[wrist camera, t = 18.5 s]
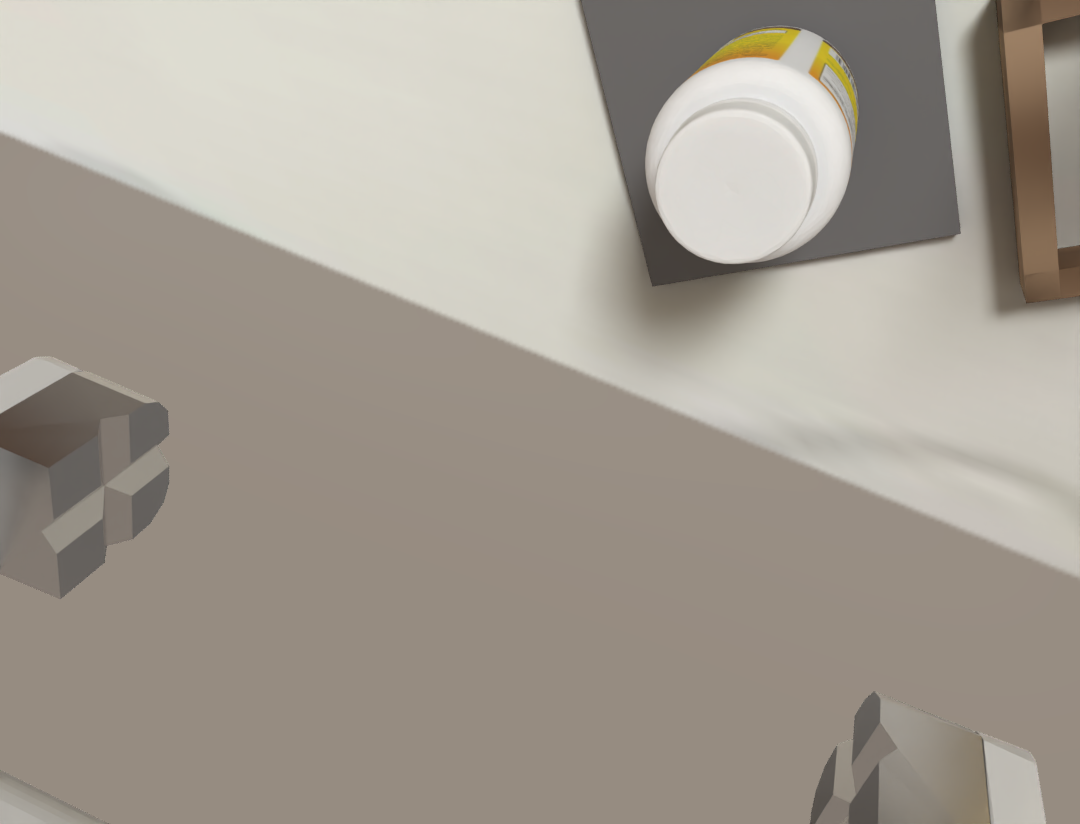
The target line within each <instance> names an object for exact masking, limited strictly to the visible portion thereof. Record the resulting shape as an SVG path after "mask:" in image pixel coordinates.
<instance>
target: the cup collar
mask: <svg viewBox="0 0 1080 824" xmlns="http://www.w3.org/2000/svg"><path fill="white" fill-rule="evenodd" d="M996 11H997V22H998V34H999V45H1000V57H1001V69H1002V80H1003V92H1004V103H1005V115H1006V126H1007V138H1008V150H1009V161H1010V173H1011V184H1012V196H1013V207H1014V219H1015V231H1016V242H1017V254H1018V265H1019V277H1020V284H1021V287H1022V291H1023V294H1024V297H1025V300H1026V303H1033V302H1040V301H1047V300H1054V299H1061V298H1069V297H1076V296H1080V245H1079V246H1073V247H1066V248H1060V249H1057V236H1056V221H1055V207H1054V192H1053V178H1052V163H1051V149H1050V134H1049V120H1048V105H1047V91H1046V76H1045V62H1044V47H1043V33H1042V24H1044V23H1048V22H1053V21H1057V20H1061V19H1065V18H1069V17H1073V16H1077V15H1080V0H996Z"/></svg>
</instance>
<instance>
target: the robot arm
mask: <svg viewBox="0 0 1080 824" xmlns="http://www.w3.org/2000/svg"><path fill="white" fill-rule="evenodd" d="M168 435H169V422H168V410H167V409H166V408H164V407H163V406H162V405H161V404H160V403H159V402H157V401H155V400H152V399H150V398H148V397H146V396H143V395H141V394H139V393H136V392H134V391H132V390H129V389H127V388H125V387H123V386H120V385H118V384H115V383H113V382H111V381H109V380H106V379H104V378H102V377H99V376H97V375H95V374H93V373H90V372H88V371H83V370H81V369H79V368H76V367H74V366H72V365H70V364H67V363H65V362H63V361H60V360H58V359H56V358H53V357H34V358H33V359H31V360H29V361H27V362H25V363H23V364H21V365H20V366H18V367H16V368H14V369H12V370H10V371H8V372H6V373H4V374H2V375H0V574H2V575H4V576H6V577H9V578H12V579H14V580H16V581H18V582H21V583H23V584H26V585H28V586H30V587H33V588H35V589H38V590H40V591H42V592H45V593H47V594H50V595H52V596H54V597H57V598H59V599H61V598H62V597H64V596H65V595H66V594H67V593H68V592H70V591H71V590H72V589H73V588H75V587H76V586H77V585H78V584H79V583H81V582H82V581H83V580H84V579H85V578H86V577H88V576H89V575H90V574H91V573H92V572H94V571H95V570H96V569H97V568H99V567H100V566H101V565H102V564H103V563H105V556H106V548H107V546H108V545H111V544H115V543H119V542H123V541H127V540H131V539H133V538H134V537H135V536H137V535H138V534H139V533H140V532H141V531H142V530H143V529H145V528H146V527H147V526H148V525H149V524H150V523H151V522H152V520H153V518H154V517H155V515H156V514H157V512H158V510H159V509H160V507H161V506H162V504H163V503H164V499H165V496H166V492H167V489H168V485H169V465H168V463H167V461H166V459H165V458H164V456H163V454H162V452H161V450H160V449H159V447H158V445H159V444H160V443H161V442H162V441H163V440H164V439H165V438H166V437H167V436H168ZM0 824H109V823H107V822H105V821H103V820H100V819H98V818H96V817H94V816H92V815H90V814H88V813H86V812H84V811H82V810H80V809H78V808H76V807H74V806H72V805H70V804H68V803H66V802H64V801H62V800H60V799H58V798H56V797H54V796H52V795H50V794H48V793H46V792H44V791H42V790H40V789H38V788H36V787H34V786H32V785H30V784H28V783H26V782H24V781H22V780H20V779H18V778H16V777H14V776H12V775H10V774H8V773H6V772H4V771H1V770H0ZM810 824H1046V819H1045V812H1044V806H1043V800H1042V794H1041V788H1040V783H1039V776H1038V770H1037V764H1036V760H1035V759H1034V757H1033V756H1032V754H1031V753H1030V752H1029V751H1028V750H1025V749H1022V748H1020V747H1017V746H1015V745H1012V744H1010V743H1007V742H1004V741H1001V740H999V739H996V738H994V737H991V736H989V735H986V734H983V733H981V732H978V731H975V732H973V731H972V730H970V729H968V728H965V727H963V726H961V725H958V724H956V723H953V722H950V721H948V720H945V719H943V718H940V717H938V716H935V715H933V714H930V713H928V712H925V711H923V710H920V709H917V708H915V707H913V706H910V705H907V704H905V703H903V702H900V701H897V700H895V699H893V698H890V697H887V696H885V695H882V694H880V693H877V692H875V691H874V692H873V693H872V694H871V695H869V696H868V697H867V698H866V699H865V701H864V702H863V704H862V705H861V707H860V708H859V710H858V711H857V713H856V715H855V720H854V735H853V739H852V740H848V741H845V742H843V743H840V744H837V746H836V748H835V749H834V751H833V753H832V755H831V757H830V758H829V760H828V762H827V764H826V765H825V768H824V771H823V773H822V776H821V779H820V781H819V784H818V787H817V789H816V793H815V798H814V803H813V807H812V812H811V821H810Z"/></svg>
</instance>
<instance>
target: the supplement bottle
mask: <svg viewBox="0 0 1080 824" xmlns="http://www.w3.org/2000/svg"><path fill="white" fill-rule="evenodd" d="M858 120H859V97H858V90H857V85H856V81H855V78H854V76H853V73H852V71H851V69H850V67H849V65H848V64H847V62H846V61H845V59H844V58H843V56H842V55H841V54H840V53H839V51H838V50H837V49H836V48H835V47H834V46H832V45H831V44H830V43H829V42H828V41H826V40H825V39H823V38H822V37H820V36H818V35H817V34H815V33H812V32H810V31H807V30H804V29H801V28H797V27H790V26H769V27H763V28H759V29H755V30H751V31H749V32H746V33H744V34H742V35H740V36H738V37H736V38H734V39H733V40H731V41H730V42H728V43H727V44H726V45H724V46H723V47H722V48H720V49H719V50H718V51H717V52H716V53H715V54H714V55H713V56H712V57H711V58H710V59H709V60H707V61H706V62H705V63H704V64H703V65H702V66H701V67H700V68H699V69H698V70H697V71H696V72H695V73H694V74H693V75H692V76H690V77H689V78H688V79H687V80H686V81H685V82H684V83H683V84H682V85H681V86H680V87H678V88H677V89H676V90H675V91H674V93H673V94H672V95H671V96H670V98H669V99H668V100H667V101H666V103H665V104H664V106H663V107H662V109H661V110H660V112H659V114H658V116H657V117H656V119H655V122H654V124H653V126H652V129H651V132H650V135H649V139H648V142H647V148H646V157H645V171H646V180H647V186H648V190H649V194H650V196H651V199H652V202H653V204H654V206H655V209H656V210H657V212H658V214H659V216H660V217H661V219H662V221H663V223H664V224H665V226H666V228H667V229H668V231H669V232H670V234H671V235H672V236H673V237H674V238H675V240H676V241H677V242H678V243H680V244H681V245H682V246H683V247H684V248H685V249H687V250H688V251H690V252H691V253H693V254H695V255H696V256H698V257H701V258H703V259H706V260H710V261H713V262H716V263H723V264H742V263H755V262H762V261H768V260H771V259H775V258H778V257H781V256H784V255H786V254H788V253H790V252H792V251H794V250H796V249H798V248H799V247H801V246H803V245H804V244H806V243H807V242H808V241H810V240H811V239H812V238H813V237H815V236H816V235H817V234H818V233H819V232H820V231H821V230H822V229H823V228H824V227H825V226H826V224H827V223H828V222H829V221H830V219H831V218H832V217H833V215H834V213H835V212H836V210H837V208H838V207H839V205H840V202H841V200H842V198H843V196H844V194H845V191H846V188H847V184H848V181H849V177H850V172H851V166H852V158H853V151H854V146H855V140H856V132H857V124H858Z"/></svg>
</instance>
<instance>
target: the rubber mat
mask: <svg viewBox="0 0 1080 824" xmlns="http://www.w3.org/2000/svg"><path fill="white" fill-rule="evenodd" d="M581 2H582V6H583V10H584V14H585V18H586V22H587V26H588V30H589V34H590V38H591V42H592V46H593V50H594V54H595V58H596V62H597V66H598V70H599V74H600V78H601V82H602V86H603V90H604V94H605V98H606V102H607V106H608V110H609V114H610V118H611V122H612V126H613V130H614V134H615V138H616V142H617V146H618V150H619V154H620V158H621V162H622V166H623V170H624V174H625V178H626V182H627V186H628V190H629V194H630V198H631V202H632V206H633V210H634V214H635V218H636V222H637V226H638V230H639V234H640V238H641V242H642V246H643V250H644V254H645V258H646V263H647V267H648V271H649V275H650V279H651V283H652V286H658V285H664V284H669V283H675V282H681V281H687V280H693V279H699V278H704V277H710V276H716V275H722V274H728V273H734V272H740V271H745V270H751V269H757V268H763V267H769V266H775V265H781V264H786V263H792V262H798V261H804V260H810V259H816V258H822V257H827V256H833V255H839V254H845V253H851V252H857V251H862V250H868V249H874V248H880V247H886V246H892V245H898V244H903V243H909V242H915V241H921V240H927V239H933V238H939V237H944V236H950V235H956V234H961V232H960V223H959V214H958V205H957V196H956V187H955V178H954V168H953V159H952V150H951V141H950V132H949V123H948V114H947V105H946V96H945V87H944V78H943V69H942V60H941V51H940V41H939V32H938V23H937V14H936V5H935V0H581ZM769 26H790V27H797V28H801V29H804V30H807V31H810V32H812V33H815V34H817V35H818V36H820V37H822V38H823V39H825V40H826V41H828V42H829V43H830V44H831V45H832V46H834V47H835V48H836V49H837V50H838V51H839V53H840V54H841V55H842V56H843V58H844V59H845V61H846V62H847V64H848V65H849V67H850V69H851V71H852V73H853V76H854V78H855V81H856V85H857V90H858V97H859V120H858V124H857V132H856V140H855V146H854V151H853V158H852V166H851V172H850V177H849V181H848V184H847V188H846V191H845V194H844V196H843V198H842V200H841V202H840V205H839V207H838V208H837V210H836V212H835V213H834V215H833V217H832V218H831V219H830V221H829V222H828V223H827V224H826V226H825V227H824V228H823V229H822V230H821V231H820V232H819V233H818V234H817V235H816V236H815V237H813V238H812V239H811V240H810V241H808V242H807V243H806V244H804V245H803V246H801V247H799V248H798V249H796V250H794V251H792V252H790V253H788V254H786V255H784V256H781V257H778V258H775V259H771V260H768V261H762V262H755V263H742V264H723V263H716V262H713V261H710V260H706V259H703V258H701V257H698V256H696V255H695V254H693V253H691V252H690V251H688V250H687V249H685V248H684V247H683V246H682V245H681V244H680V243H678V242H677V241H676V240H675V238H674V237H673V236H672V235H671V234H670V232H669V231H668V229H667V228H666V226H665V224H664V223H663V221H662V219H661V217H660V216H659V214H658V212H657V210H656V209H655V206H654V204H653V202H652V199H651V196H650V194H649V190H648V186H647V180H646V171H645V157H646V148H647V142H648V139H649V135H650V132H651V129H652V126H653V124H654V122H655V119H656V117H657V116H658V114H659V112H660V110H661V109H662V107H663V106H664V104H665V103H666V101H667V100H668V99H669V98H670V96H671V95H672V94H673V93H674V91H675V90H676V89H677V88H678V87H680V86H681V85H682V84H683V83H684V82H685V81H686V80H687V79H688V78H689V77H690V76H692V75H693V74H694V73H695V72H696V71H697V70H698V69H699V68H700V67H701V66H702V65H703V64H704V63H705V62H706V61H707V60H709V59H710V58H711V57H712V56H713V55H714V54H715V53H716V52H717V51H718V50H719V49H720V48H722V47H723V46H724V45H726V44H727V43H728V42H730V41H731V40H733V39H734V38H736V37H738V36H740V35H742V34H744V33H746V32H749V31H751V30H755V29H759V28H763V27H769Z"/></svg>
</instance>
